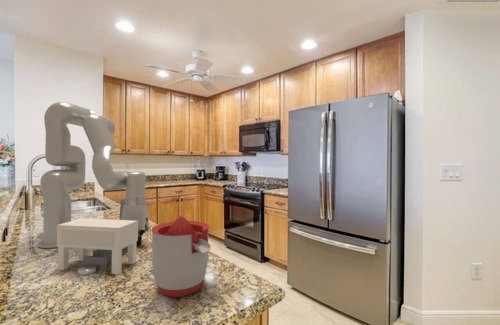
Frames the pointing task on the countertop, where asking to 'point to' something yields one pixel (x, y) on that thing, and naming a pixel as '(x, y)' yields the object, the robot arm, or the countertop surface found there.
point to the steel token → (87, 270)
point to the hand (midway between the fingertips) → (135, 245)
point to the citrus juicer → (180, 256)
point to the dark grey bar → (100, 258)
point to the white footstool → (97, 239)
